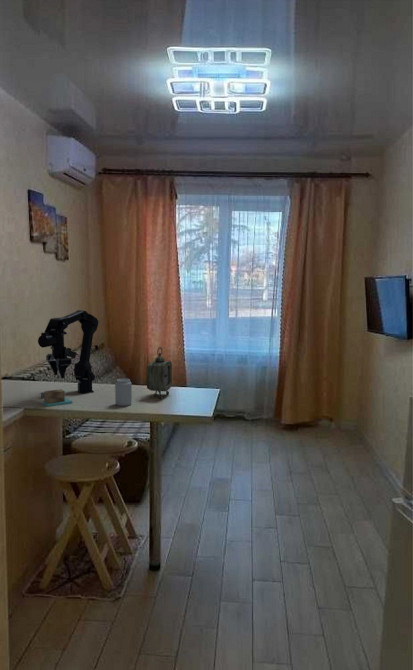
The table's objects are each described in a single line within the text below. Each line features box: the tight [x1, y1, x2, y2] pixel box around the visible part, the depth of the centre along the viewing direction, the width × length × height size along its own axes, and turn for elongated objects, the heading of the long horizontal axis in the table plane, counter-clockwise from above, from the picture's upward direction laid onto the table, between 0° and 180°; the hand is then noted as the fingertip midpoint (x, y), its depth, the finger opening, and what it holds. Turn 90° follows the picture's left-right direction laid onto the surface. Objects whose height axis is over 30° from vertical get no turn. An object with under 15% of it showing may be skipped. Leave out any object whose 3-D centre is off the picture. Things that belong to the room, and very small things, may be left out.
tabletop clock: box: [145, 346, 173, 400], centre depth 238 cm, size 14×9×25 cm, turn 167°
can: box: [114, 378, 133, 407], centre depth 222 cm, size 8×8×12 cm
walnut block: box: [43, 388, 66, 404], centre depth 223 cm, size 8×5×5 cm, turn 126°
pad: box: [41, 397, 73, 408], centre depth 224 cm, size 12×7×1 cm, turn 125°
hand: (59, 376), depth 229 cm, fingers open, 9 cm apart
